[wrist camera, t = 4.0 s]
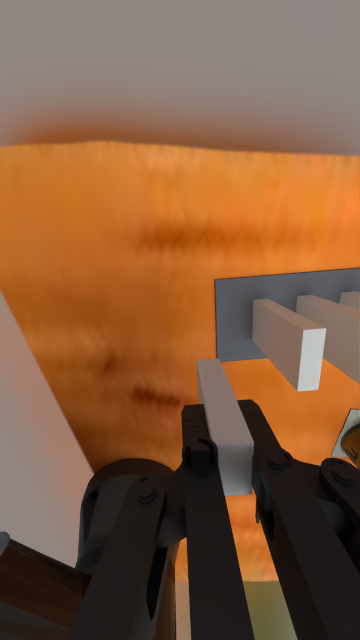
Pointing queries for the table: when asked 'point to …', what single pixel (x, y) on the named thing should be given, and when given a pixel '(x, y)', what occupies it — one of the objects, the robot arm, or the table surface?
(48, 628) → the robot arm
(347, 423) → the condiment
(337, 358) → the domino
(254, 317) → the domino
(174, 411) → the table surface
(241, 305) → the mat
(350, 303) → the domino
